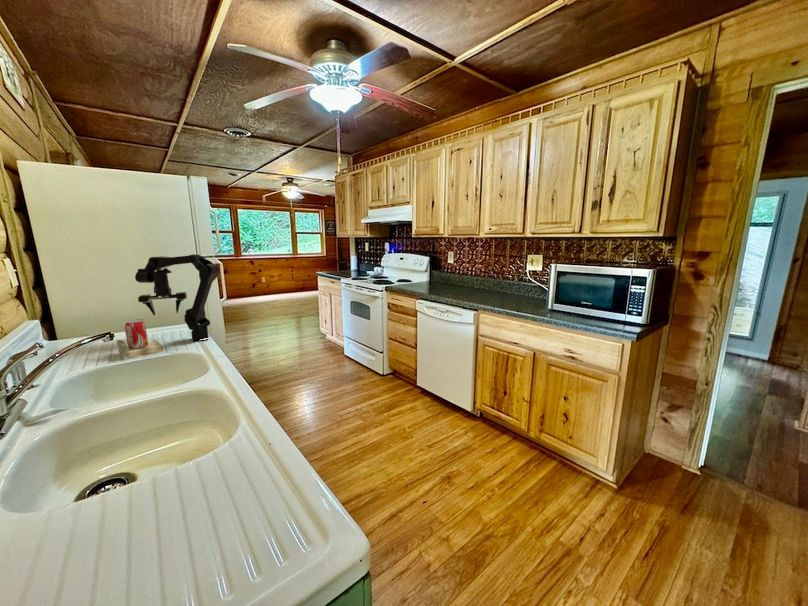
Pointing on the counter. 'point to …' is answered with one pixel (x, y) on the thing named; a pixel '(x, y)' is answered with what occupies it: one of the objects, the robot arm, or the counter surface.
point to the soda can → (136, 334)
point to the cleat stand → (131, 353)
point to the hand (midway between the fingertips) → (166, 314)
